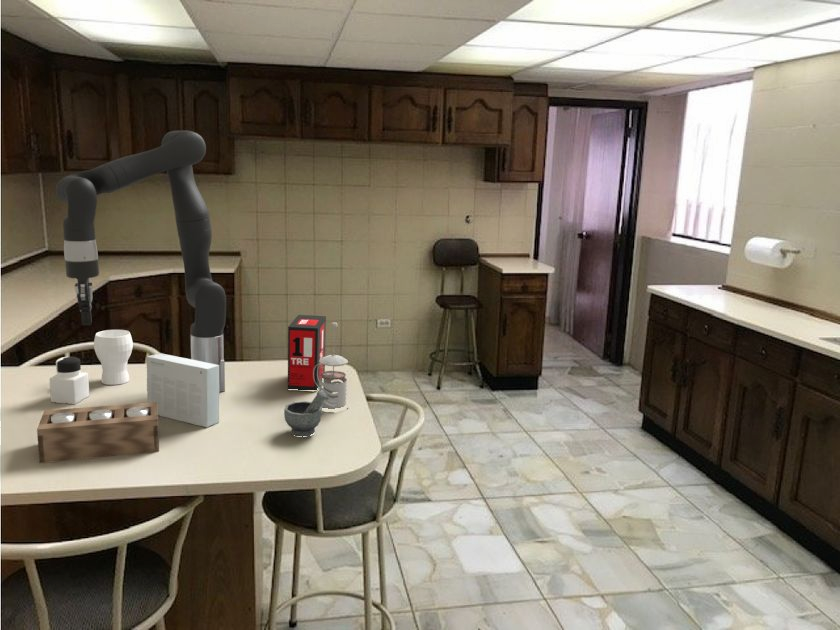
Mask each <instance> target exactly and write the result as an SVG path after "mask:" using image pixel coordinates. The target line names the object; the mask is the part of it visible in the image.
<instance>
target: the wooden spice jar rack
mask: <svg viewBox="0 0 840 630" xmlns="http://www.w3.org/2000/svg"><path fill="white" fill-rule="evenodd" d="M133 407H146V408H148V416H137V417H127V410H128V409H130V408H133ZM102 409H105V410H110V411H112V419H100V420H90V416H89V414H90V413H91V412H92V411H95V410H102ZM63 412H70V413H73V414H74V420H75V422H63V423H51V416H52V415H54V414H57V413H63ZM36 433H37V434H36V435H37V447H38V449H37V450H38V461H39V462H38V463H39V464H43V463H53V462H63V461H64V462H65V461H72V460H73V461H74V460H83V459H84V460H85V459H93V458H104V457H112V456H124V455H133V454H141V453H143V454H144V453H153V452H160V444H159V443H160V441H159V438H160V437H159V436H160V435H159V415H158V411H157V402H150V403H147V402H140V403H126V404H113V405H112V404H111V405H101V406H100V405H99V406H85V407H84V406H83V407H73V408H62V409H61V408H58V409H45V410H43V413H42V415H41V418H40V420H39V423H38V426H37V428H36Z"/></svg>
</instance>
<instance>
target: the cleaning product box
mask: <svg viewBox="0 0 840 630" xmlns="http://www.w3.org/2000/svg"><path fill="white" fill-rule="evenodd" d="M326 321H327V316H325V315H311V314H297V316H296V317H295V318H294V319H293V320H292V322H290V324H289V325H288V327H287V390H288V389H298V390H317V388H318V386H319V381H318V378H319V379H320V378H322V377H321V373H322V372H325V371H326V368H325V367H326V366H325V367H324V365H323V364H321V365H322V367H324V368H321V365H320V366H319V365H317V364H319V363H320V362H319V360H320V359H321V358H323V357H325V356H326V332H327V330H326V328H327V327H326V323H327V322H326ZM316 365H317V366H316ZM315 366H316V368H315ZM318 366H319V368H318ZM314 368H315V370H314ZM317 368H318V377H317ZM313 370H314V378H313ZM314 379H315V382H316V383H317V385H318V386H317V385H316V383H315V382H314ZM318 389H319V388H318ZM317 391H318V390H317Z"/></svg>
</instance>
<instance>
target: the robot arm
mask: <svg viewBox="0 0 840 630" xmlns="http://www.w3.org/2000/svg"><path fill="white" fill-rule="evenodd" d="M160 145H161V146H158V147H155V148H153V149H150V150H147V151H143V152H142V151H141V152H138V153H135V154H130V155H128V156H123V157H120V158H117V159H115V160H111V161H109V162H106V163H104V164H102V165H99V166H97V167H94V168H92V169H87V170H83V171H79V172H75V173H73V174H72V173H71V174H69V175H67V176H64V177H62V178H61V179H60V180H58V182H57V184H56V186H55V194H56V196H57V198H58V199H59V201H61V203H64V204H65V205H67V216H66V217H64V219H63V221H62V228H63V242H64V243H63V254H64V264H65V265H64V267H65V276H66V277H67V278H69V279H76V281H77V282H75V284H74V292H75V294H76V302H77V304H78V310H79V312H80V316H81V317H80V318H81V325H82V326H91V325H92V322H93V321H92V309H93V308H92V307H93V306H92V304H93V297H94V296H93V288H94V283H93V282H90V278H91V279H92V278H96V277H98V276H99V275H100V268H99V266H100V265H99V254H98V244H97V241H96V229H95V219H96V213H97V205H98V203H97V202H98V195H102V194H110V193H114V192H117V191H120V190H122V189H124V188H127V187H129V186H131V185H134V184H136V183H138V182H141V181H144V180H145V179H149V178H150V177H153V176H155V175H159V174H161V173H163V172H166V173H167V174H166V175H167V177H168V181H169V186H170V190H171V197H172V204H173V209H174V217H175V224H176V231H177V235H178V240H179V245H180V246H179V247H180V251H181V256H182V261H183V262H182V263H183V266H184V267H183V268H184V269H183V270H184V280H185V281H184V285H185V288H184V289H185V298H186V300H187V302H188V304H189V305H190V306H191V307H192V308H194V322H193V323H192V324H191V325H190V359H192V360H197V361H201V362H206V363H211V364H216V365H219V393H220V392H226V384H225V383H226V381H225V380H226V379H225V377H226V376H225V375H226V374H225V373H226V372H225V369H226V368H225V365H226V363H225V359H224V328H225V327H226V326H225V325H226V321H227V319H226V318H227V295H226V292H225V289H224V288H223V286H222V285H220V284H219V283H218V282H215V281H213V278H212V273H211V269H210V268H211V267H210V261H209V260H210V259H209V255H210V249H211V245H212V238H213V237H212V236H213V235H212V233H213V232H212V225H211V218H210V212H209V209H208V207H207V204H206V202H205V200H204V198H203V195H202V194H201V192H200V190H199V188H198V186H197V184H196V180H195V177H194V169H193V165H196V164H198V163H200V162H201V161H202V160H203V158H204V157H205V156H206V151H207V146H206V142H205V140H204V138H203V137H202V136H201V135H200V134H199V133H197V132H195V131H192V130H171V131H168V132H167V133H166V134H165V135H164V136H163V137H162V139H161V144H160Z"/></svg>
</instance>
